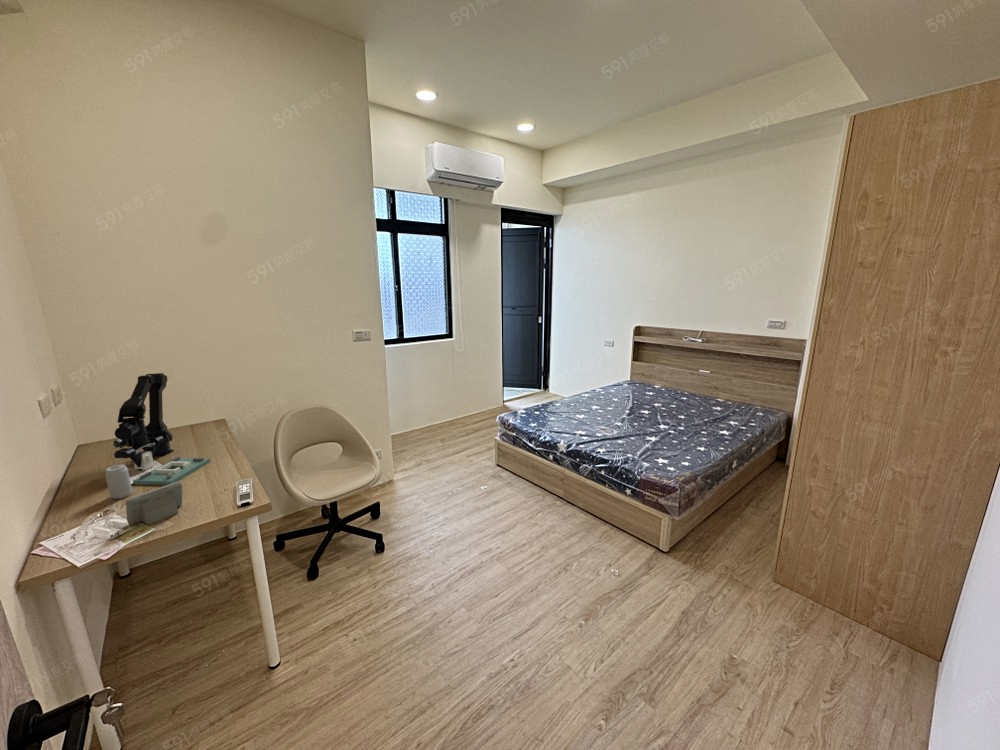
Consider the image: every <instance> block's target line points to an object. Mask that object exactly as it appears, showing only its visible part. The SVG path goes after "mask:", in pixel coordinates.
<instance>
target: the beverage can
mask: <svg viewBox="0 0 1000 750" xmlns="http://www.w3.org/2000/svg"><path fill="white" fill-rule="evenodd" d="M104 475H105V481H106V483H107V489H108V493H109V496H110V498H111V499H115V500H120V499H123V498H124V499H125V498H126V497H129V496H131V494H132V493H133V492H134V491H133V488H132V482H131V477H130V473H129V468H128V467H127V465H125V464H116V465H112V466H109V467H107V468H106V469H105V472H104Z"/></svg>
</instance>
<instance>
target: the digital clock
mask: <svg viewBox="0 0 1000 750" xmlns="http://www.w3.org/2000/svg"><path fill="white" fill-rule="evenodd" d="M182 504H183V482H182V481H177V482H175V483H172V484H169V485H162V486H161V487H158V488H155V489H152V490H150V491H147V492H146V491H145V492H144V493H141V494H138V495H135V496H133V497H130V498H128V499H127V500H126V501H125V508H126V522H128V523H130V524H129V525H135V524H134V523H136V524H138V523H141V522H143V521H144V522H145V523H147V524H150V525H153V524H155V523H158V522H159V521H160V522H161V521H162V519H163V520H165V519H168V518H170V517H172V516H175V515H177V514H179V509H178V507H180V506H182ZM140 521H141V522H140ZM157 521H158V522H157ZM137 522H138V523H137ZM144 522H143V523H144ZM154 522H155V523H154ZM128 523H127V524H128ZM145 523H144V524H145ZM152 523H153V524H152ZM147 524H146V525H147Z"/></svg>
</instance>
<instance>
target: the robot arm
mask: <svg viewBox="0 0 1000 750" xmlns="http://www.w3.org/2000/svg"><path fill="white" fill-rule="evenodd" d="M167 382H168V375H166V374H165V373H163V372H156V373H146V374H145V375H139V376H138V377H137V382H136V384H135V387H134V389H133V391H132V394H131V395H130V397H129V399H127V400H125V401H124V402H123V403H122V405H121V406H120V407H119V411H118V417H117V424H118V428H116V429H115V431H114V435H115V438H116V440H113V446H114V447H115V448H119V449H118V450H116V451H114V453H113V454H114V455H113V456H114V459H131V460H132V462H133V464H134V463H135V464H136V465H137V467H141V457H142V453H138V452H139V450H140V449H142V451H151V453H152V457H164V456H166V455H169V454H170V453H172V452H174V451H175V450H174V449H172V448H171V444H170V442H171V441H173V438H174V437H173V433H171V432H170V431H169V430H168V426H167V425H166V424H165V422H164V416H163V414H164V413H163V392H164V390H165V389H166V387H167ZM147 396H148V402H149V403H148V404H149V406H148V407H149V408H148V409H149V410H148V411H149V412H148V413H149V423H148V424H147V425H145V419H146V416H145V414H146V411H147V409H146V408H147V406H146V405H145V401H146V398H147Z"/></svg>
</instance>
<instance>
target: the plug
mask: <svg viewBox="0 0 1000 750" xmlns="http://www.w3.org/2000/svg"><path fill="white" fill-rule="evenodd" d="M138 453H142V457H141V467H137V465H136V464H135V463H134V462H133V465H134V470H135V469H142V470H141V471H147V470H148V469H151V468H152V467H154V466H155V463H154V459H153V457H154V456H153V457H152V453H151V451H144V450H140V451H138Z"/></svg>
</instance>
